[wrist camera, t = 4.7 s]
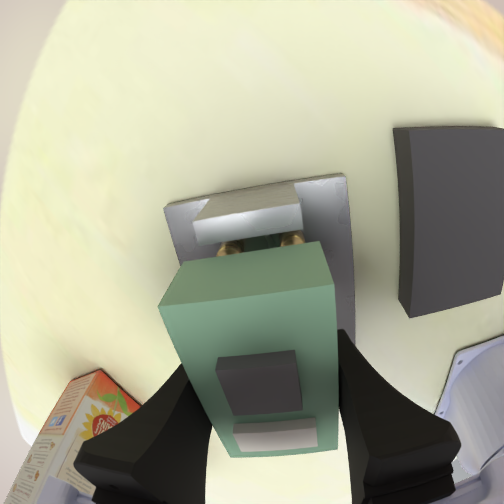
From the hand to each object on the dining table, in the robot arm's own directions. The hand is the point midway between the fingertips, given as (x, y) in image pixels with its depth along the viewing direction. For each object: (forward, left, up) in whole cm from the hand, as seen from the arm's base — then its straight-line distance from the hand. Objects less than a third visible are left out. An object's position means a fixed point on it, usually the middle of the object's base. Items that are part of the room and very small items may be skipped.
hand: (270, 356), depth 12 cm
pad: (+3, -11, -5) cm, 13 cm away
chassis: (0, 0, -5) cm, 5 cm away
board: (0, 0, 0) cm, 0 cm away
